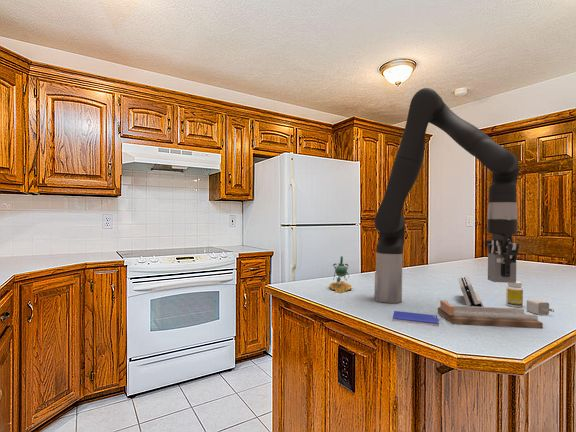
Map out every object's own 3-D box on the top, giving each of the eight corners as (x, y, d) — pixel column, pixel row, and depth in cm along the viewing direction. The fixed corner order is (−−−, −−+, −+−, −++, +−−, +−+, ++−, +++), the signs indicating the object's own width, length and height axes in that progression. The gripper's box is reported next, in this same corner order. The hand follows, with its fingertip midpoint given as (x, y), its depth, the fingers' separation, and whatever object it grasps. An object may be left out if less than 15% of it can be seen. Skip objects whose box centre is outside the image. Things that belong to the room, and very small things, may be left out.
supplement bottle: (525, 308, 114) (525, 283, 114) (509, 307, 115) (510, 282, 115) (518, 304, 119) (519, 280, 119) (503, 303, 120) (504, 280, 120)
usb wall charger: (537, 311, 111) (537, 299, 111) (556, 317, 104) (556, 304, 104) (526, 311, 110) (526, 299, 110) (545, 317, 104) (545, 304, 104)
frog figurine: (354, 285, 148) (355, 252, 147) (350, 299, 131) (351, 262, 129) (332, 283, 151) (333, 251, 149) (326, 297, 134) (326, 260, 132)
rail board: (452, 323, 95) (452, 308, 95) (437, 312, 107) (438, 298, 107) (542, 328, 93) (542, 312, 93) (517, 315, 105) (517, 301, 105)
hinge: (483, 307, 114) (473, 278, 116) (469, 310, 116) (458, 282, 117) (479, 297, 129) (469, 272, 131) (466, 300, 131) (457, 275, 133)
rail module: (494, 282, 98) (494, 252, 98) (487, 279, 102) (487, 250, 102) (516, 282, 97) (516, 252, 98) (508, 280, 102) (508, 251, 102)
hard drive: (437, 314, 101) (394, 310, 105) (439, 322, 93) (392, 317, 98) (437, 320, 101) (394, 315, 105) (438, 328, 93) (392, 322, 98)
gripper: (477, 217, 107) (477, 271, 107) (501, 217, 93) (500, 279, 93) (502, 218, 107) (502, 272, 107) (530, 218, 92) (529, 280, 92)
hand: (501, 275), depth 100 cm, fingers closed on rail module, 4 cm apart
